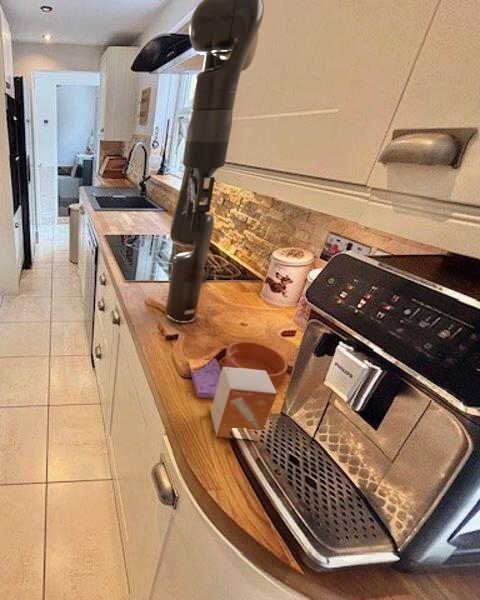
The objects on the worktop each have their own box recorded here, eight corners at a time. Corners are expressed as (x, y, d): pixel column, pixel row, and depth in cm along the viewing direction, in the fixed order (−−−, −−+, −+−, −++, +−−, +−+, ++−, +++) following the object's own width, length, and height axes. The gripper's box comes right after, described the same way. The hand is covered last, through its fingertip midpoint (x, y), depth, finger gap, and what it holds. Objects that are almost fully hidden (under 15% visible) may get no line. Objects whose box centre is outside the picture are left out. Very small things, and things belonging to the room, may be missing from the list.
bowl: (218, 354, 87) (221, 339, 85) (271, 359, 85) (276, 343, 83) (228, 388, 76) (233, 372, 74) (290, 395, 74) (297, 379, 71)
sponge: (197, 398, 74) (198, 391, 73) (187, 362, 85) (188, 356, 84) (229, 400, 73) (231, 393, 72) (214, 363, 84) (216, 358, 83)
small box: (216, 437, 64) (229, 388, 58) (209, 412, 70) (221, 365, 64) (259, 443, 63) (278, 393, 57) (249, 417, 69) (266, 369, 62)
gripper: (238, 140, 53) (219, 237, 61) (221, 137, 65) (207, 217, 73) (190, 140, 54) (177, 235, 62) (182, 137, 66) (172, 216, 74)
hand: (193, 225), depth 67 cm, fingers open, 8 cm apart
